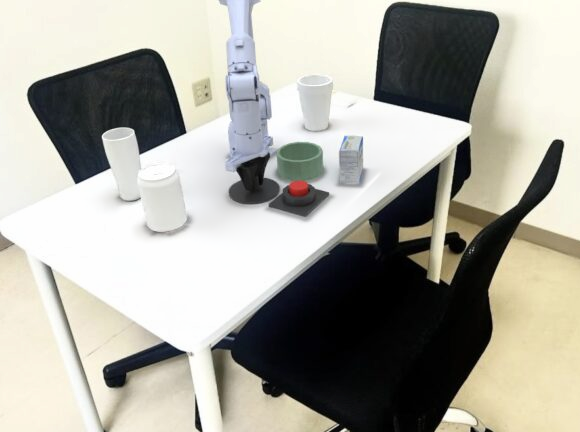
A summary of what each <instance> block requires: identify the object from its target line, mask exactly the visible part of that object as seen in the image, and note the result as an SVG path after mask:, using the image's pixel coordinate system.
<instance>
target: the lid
mask: <svg viewBox="0 0 580 432" xmlns="http://www.w3.org/2000/svg"><path fill="white" fill-rule="evenodd" d="M280 190H281V187H280V185H279V183H278V182H277V181H276V180H274V179H272V178H270V177H264V178H263V184H262V185H261V186H260V185H259V177H258V174H257V173H255V191H253V192H251V191H248V190H245V187H244V185H243V182H242V180H241V179H240V180H237V181H236V182H234V183H232V185H230V187H229V189H228V196H229V198H230V199H231V200H232V201H233V202H236V203H239V204H243V205H258V204H263V203H266V202H269V201H272V200H274V199H275V198H277V197H278V196H279V195H280Z"/></svg>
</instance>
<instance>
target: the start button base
mask: <svg viewBox="0 0 580 432" xmlns="http://www.w3.org/2000/svg"><path fill="white" fill-rule="evenodd" d="M329 196H330V192H329V191H325V190H322V189H318V188H316V187H315V186H313V185H312V184H309V183H308V194H307V195H304V196H293V195H290V193H289V184H287V185H286V186H285V187H284V188H282V192H281V193H279V194H278V195H277V196H276V197H275V198H273V199H272V200H271V201H270V202H269V203H268V208H271V209H275V210H279V211H282V212H286V213H289V214H293V215H297V216H300V217H304V218H307V217H308V216H309V215H310V214H311V213H312V212H313V211H314V210H315V209H317V207H318V206H320V205H321V203H323V202H324V200H326V199H327V198H328V197H329Z"/></svg>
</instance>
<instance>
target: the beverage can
mask: <svg viewBox="0 0 580 432" xmlns="http://www.w3.org/2000/svg"><path fill="white" fill-rule="evenodd" d="M137 184H138V188H139V192H140V197H141V198H140V201H141V204H142V205H141V206H142V208H143V213H144V218H145V222H146V226H147V227H148V228H149V229H150V230H151V231H154V232H158V233H159V232H160V233H165V232H171V231H175V230H177V229H179V228H181V227H182V226H184V225H185V224H186V223H187V220H188V214H187V213H188V212H187V208H186V202H185V198H184V197H185V196H184V192H183V188H182V181H181V176H180V172H179V170H177V168H176V166H175V165H173V164H172V163H169V162H156V163H151V164H147V165H145V166H144V167H141V170H140V171H139V172H138V178H137Z"/></svg>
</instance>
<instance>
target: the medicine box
mask: <svg viewBox="0 0 580 432" xmlns="http://www.w3.org/2000/svg"><path fill="white" fill-rule="evenodd" d="M338 165H339V166H338V167H339V168H338V171H339V184H349V185H360V182H361V179H362V175H363V171H364V170H363V169H364V136H362V135H344V136H343V139H342V142H341V145H340V148H339V151H338Z"/></svg>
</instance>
